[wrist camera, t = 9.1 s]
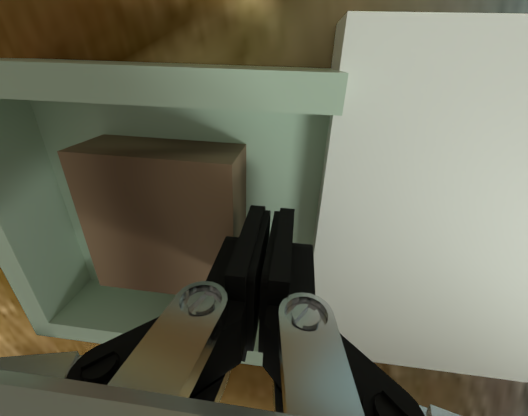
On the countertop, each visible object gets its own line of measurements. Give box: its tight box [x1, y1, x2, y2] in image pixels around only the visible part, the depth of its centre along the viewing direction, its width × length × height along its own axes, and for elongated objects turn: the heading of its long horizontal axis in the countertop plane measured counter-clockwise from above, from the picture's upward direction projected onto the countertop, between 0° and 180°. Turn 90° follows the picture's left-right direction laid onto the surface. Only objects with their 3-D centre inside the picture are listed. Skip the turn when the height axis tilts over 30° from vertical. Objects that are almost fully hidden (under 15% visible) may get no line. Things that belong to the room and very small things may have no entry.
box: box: [0, 58, 349, 366], centre depth 12 cm, size 13×12×5 cm
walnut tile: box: [57, 134, 246, 295], centre depth 12 cm, size 6×6×2 cm
